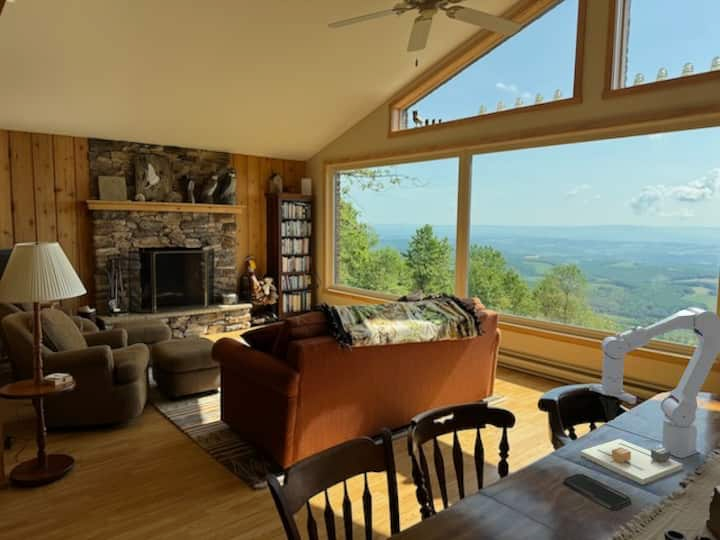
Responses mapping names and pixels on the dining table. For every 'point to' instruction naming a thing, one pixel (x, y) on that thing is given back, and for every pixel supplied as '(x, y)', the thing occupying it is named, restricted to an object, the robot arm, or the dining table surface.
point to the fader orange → (621, 454)
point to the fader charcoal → (660, 454)
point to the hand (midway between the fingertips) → (610, 419)
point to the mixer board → (631, 461)
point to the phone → (597, 491)
